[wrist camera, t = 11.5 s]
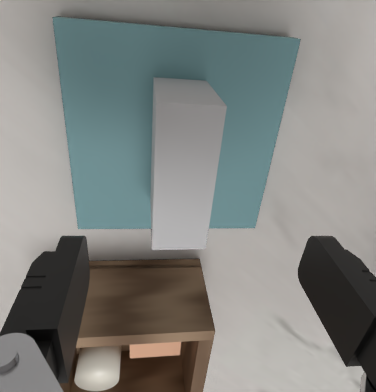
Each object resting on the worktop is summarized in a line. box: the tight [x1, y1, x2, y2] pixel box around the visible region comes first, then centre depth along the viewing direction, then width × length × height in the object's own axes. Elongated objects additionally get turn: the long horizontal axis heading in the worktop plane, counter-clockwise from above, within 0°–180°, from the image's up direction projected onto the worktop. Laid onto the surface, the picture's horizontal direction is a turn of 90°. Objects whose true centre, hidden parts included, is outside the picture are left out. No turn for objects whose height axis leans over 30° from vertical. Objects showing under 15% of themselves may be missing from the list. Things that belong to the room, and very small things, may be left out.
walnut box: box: [59, 259, 215, 392], centre depth 26 cm, size 12×12×7 cm
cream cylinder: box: [74, 345, 121, 391], centre depth 28 cm, size 4×4×4 cm
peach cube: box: [130, 342, 181, 358], centre depth 26 cm, size 4×4×4 cm
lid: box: [53, 16, 301, 250], centre depth 18 cm, size 13×13×7 cm
